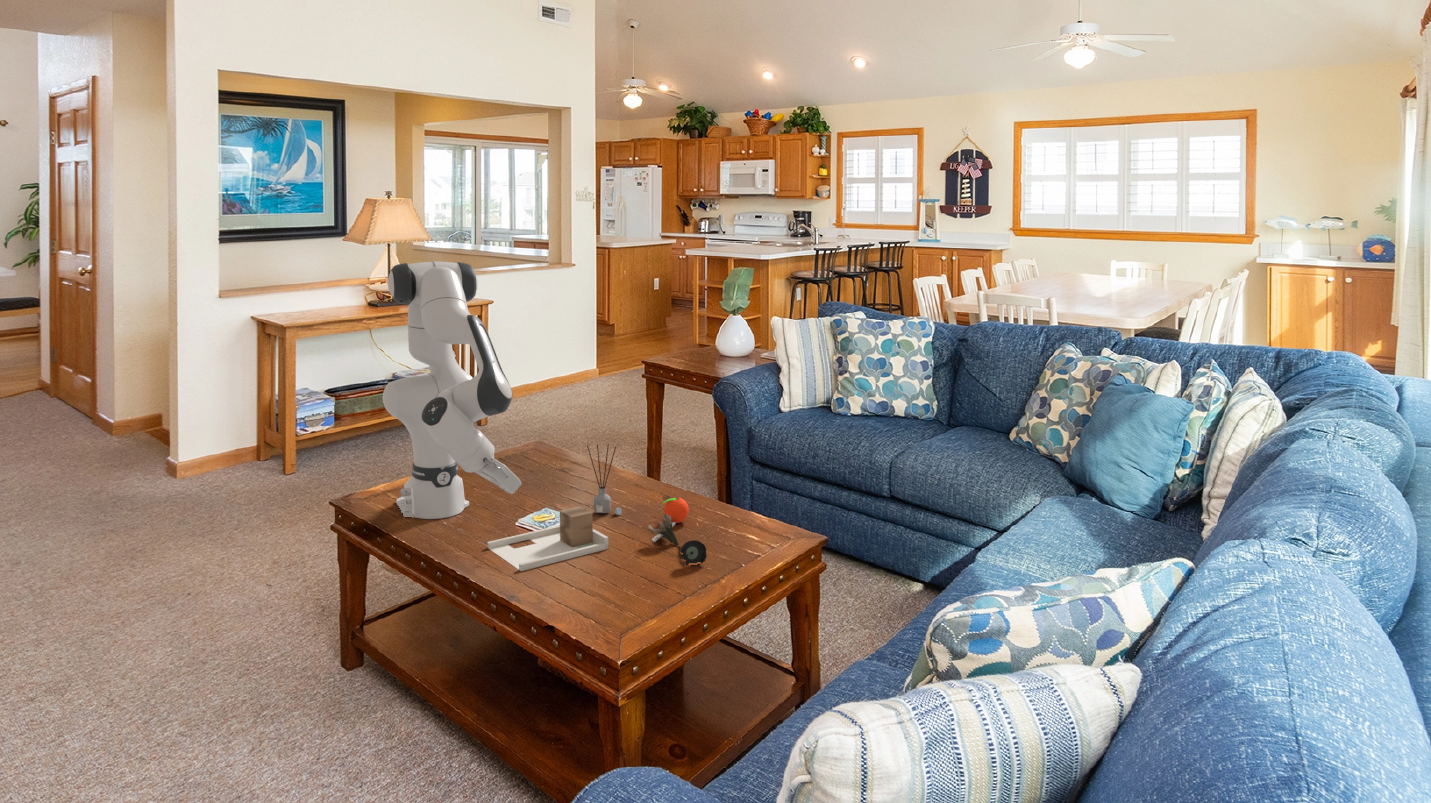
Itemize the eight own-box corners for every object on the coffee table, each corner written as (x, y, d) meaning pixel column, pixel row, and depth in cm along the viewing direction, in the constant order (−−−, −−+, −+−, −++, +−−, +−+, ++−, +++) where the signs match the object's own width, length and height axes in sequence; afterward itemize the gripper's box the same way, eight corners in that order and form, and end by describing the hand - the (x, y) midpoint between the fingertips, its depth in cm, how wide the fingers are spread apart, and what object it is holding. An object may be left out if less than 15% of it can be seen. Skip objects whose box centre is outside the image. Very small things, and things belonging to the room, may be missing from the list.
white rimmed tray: (487, 553, 228) (487, 536, 227) (572, 533, 243) (571, 517, 242) (521, 577, 214) (520, 559, 213) (608, 554, 229) (608, 537, 228)
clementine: (662, 527, 248) (663, 502, 246) (657, 519, 255) (657, 494, 253) (691, 525, 250) (691, 500, 249) (685, 517, 257) (685, 492, 255)
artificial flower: (677, 575, 221) (665, 537, 219) (652, 551, 242) (641, 517, 240) (710, 561, 223) (699, 523, 221) (683, 539, 245) (672, 505, 243)
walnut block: (560, 540, 233) (559, 510, 232) (580, 535, 237) (580, 506, 235) (572, 547, 229) (571, 517, 227) (592, 542, 233) (592, 512, 231)
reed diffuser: (584, 514, 257) (583, 446, 253) (592, 506, 264) (591, 439, 259) (619, 517, 255) (619, 448, 251) (626, 509, 262) (626, 442, 257)
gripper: (507, 455, 207) (539, 492, 216) (463, 432, 221) (495, 467, 230) (487, 476, 205) (521, 512, 213) (444, 451, 219) (477, 486, 228)
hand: (507, 488), depth 222 cm, fingers closed
